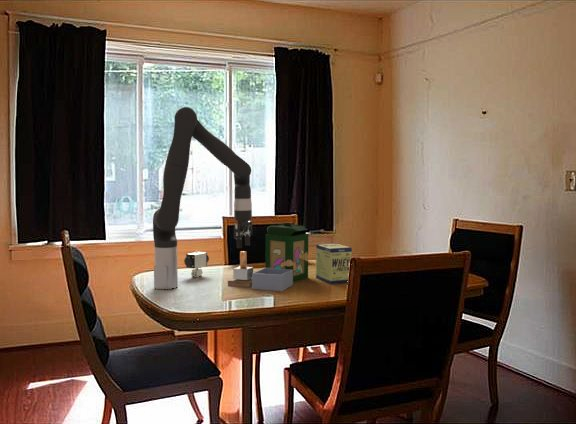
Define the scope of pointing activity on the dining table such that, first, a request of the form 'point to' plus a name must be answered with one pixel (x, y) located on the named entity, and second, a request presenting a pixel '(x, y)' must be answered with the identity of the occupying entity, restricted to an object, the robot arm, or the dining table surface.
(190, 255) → the pneumatic valve
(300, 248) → the container
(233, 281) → the stud block
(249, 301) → the dining table surface
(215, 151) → the robot arm
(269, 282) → the bin
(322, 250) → the protein box
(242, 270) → the peg block
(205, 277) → the dining table surface
